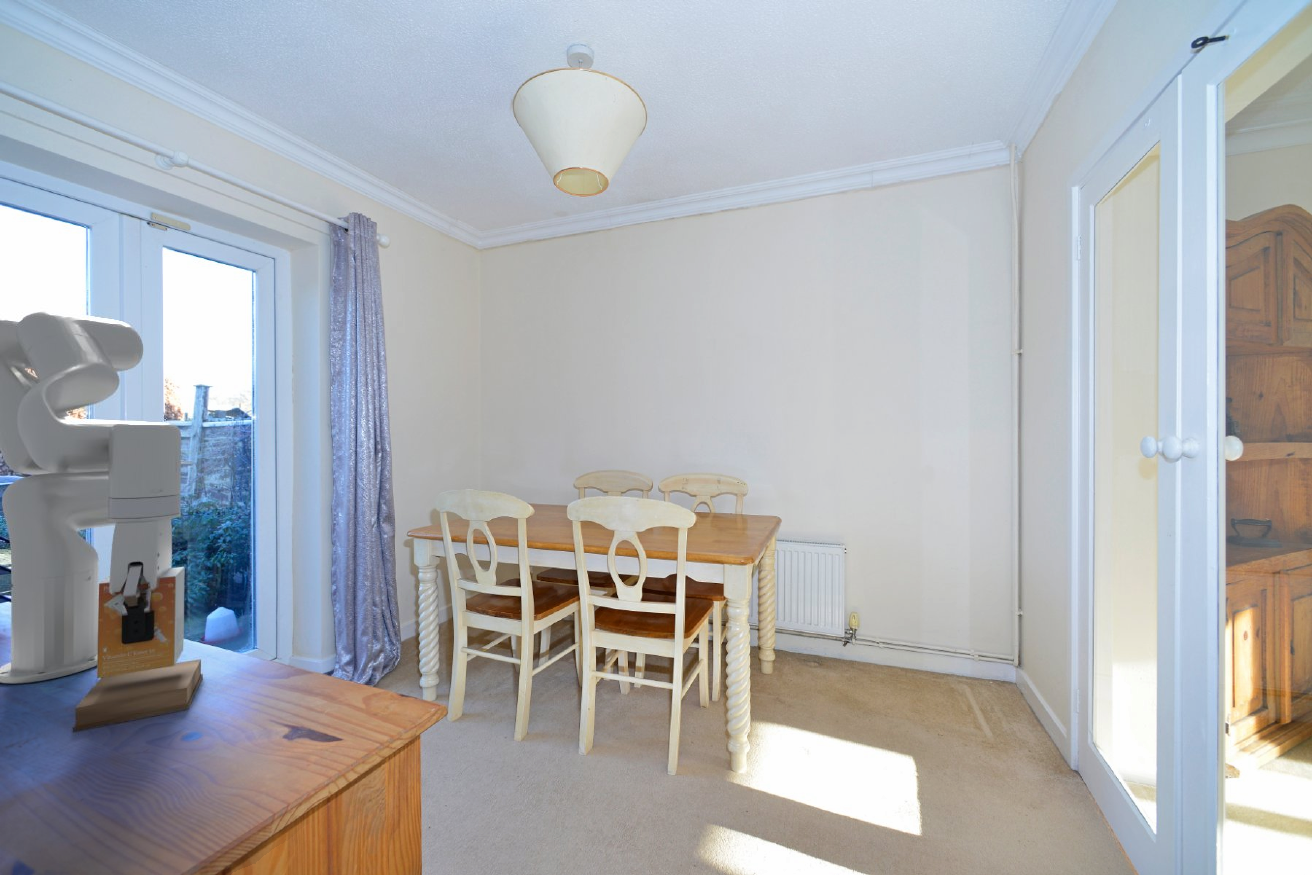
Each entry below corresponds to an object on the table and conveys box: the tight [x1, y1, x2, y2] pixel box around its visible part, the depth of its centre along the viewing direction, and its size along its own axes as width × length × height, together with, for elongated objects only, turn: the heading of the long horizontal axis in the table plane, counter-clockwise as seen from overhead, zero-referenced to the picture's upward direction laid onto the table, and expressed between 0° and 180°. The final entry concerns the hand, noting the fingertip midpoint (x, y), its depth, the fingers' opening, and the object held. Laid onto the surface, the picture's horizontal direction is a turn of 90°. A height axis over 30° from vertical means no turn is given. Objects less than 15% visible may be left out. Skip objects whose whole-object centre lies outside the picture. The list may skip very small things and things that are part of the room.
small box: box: [96, 566, 186, 679], centre depth 77 cm, size 8×6×13 cm
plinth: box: [72, 659, 204, 733], centre depth 77 cm, size 11×11×3 cm
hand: (145, 632), depth 77 cm, fingers closed on small box, 6 cm apart
